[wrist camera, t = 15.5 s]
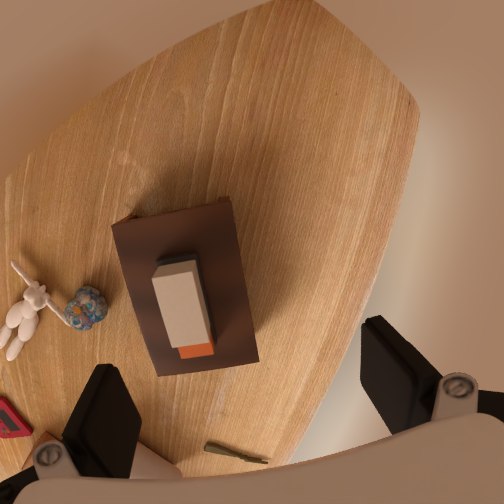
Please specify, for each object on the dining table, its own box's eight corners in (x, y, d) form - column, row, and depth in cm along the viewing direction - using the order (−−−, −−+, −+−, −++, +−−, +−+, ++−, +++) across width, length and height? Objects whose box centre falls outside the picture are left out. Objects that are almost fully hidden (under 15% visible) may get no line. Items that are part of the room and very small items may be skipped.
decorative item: (63, 473, 37) (40, 494, 40) (74, 450, 43) (48, 475, 46) (33, 452, 35) (15, 477, 38) (45, 429, 42) (25, 459, 45)
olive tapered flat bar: (202, 447, 45) (202, 451, 44) (207, 440, 45) (207, 444, 44) (264, 463, 48) (265, 467, 47) (270, 457, 47) (271, 461, 46)
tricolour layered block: (157, 257, 30) (147, 273, 26) (197, 250, 30) (193, 265, 26) (181, 345, 33) (177, 369, 28) (217, 339, 33) (217, 363, 28)
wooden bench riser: (127, 215, 34) (110, 225, 29) (229, 195, 35) (231, 201, 29) (164, 350, 39) (157, 376, 34) (254, 335, 40) (259, 362, 34)
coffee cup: (193, 459, 45) (126, 419, 39) (181, 506, 37) (106, 472, 32) (159, 459, 49) (98, 421, 43) (147, 499, 41) (79, 466, 35)
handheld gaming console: (-30, 407, 38) (1, 400, 38) (-27, 404, 40) (4, 395, 39) (-2, 440, 41) (32, 436, 41) (0, 436, 42) (35, 431, 42)
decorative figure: (-18, 325, 36) (21, 250, 34) (31, 376, 39) (80, 313, 37) (-29, 334, 32) (7, 257, 31) (22, 388, 35) (70, 324, 34)
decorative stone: (89, 276, 34) (106, 313, 33) (101, 281, 38) (118, 315, 37) (50, 302, 33) (66, 338, 32) (65, 304, 37) (81, 337, 36)
